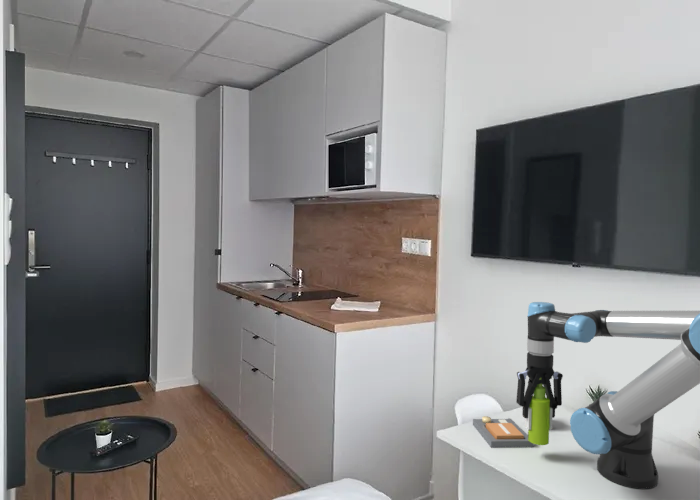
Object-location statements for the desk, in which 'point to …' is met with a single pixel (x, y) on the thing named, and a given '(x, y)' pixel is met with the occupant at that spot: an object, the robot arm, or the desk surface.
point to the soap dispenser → (539, 417)
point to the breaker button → (504, 431)
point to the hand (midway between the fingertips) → (538, 427)
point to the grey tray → (495, 443)
